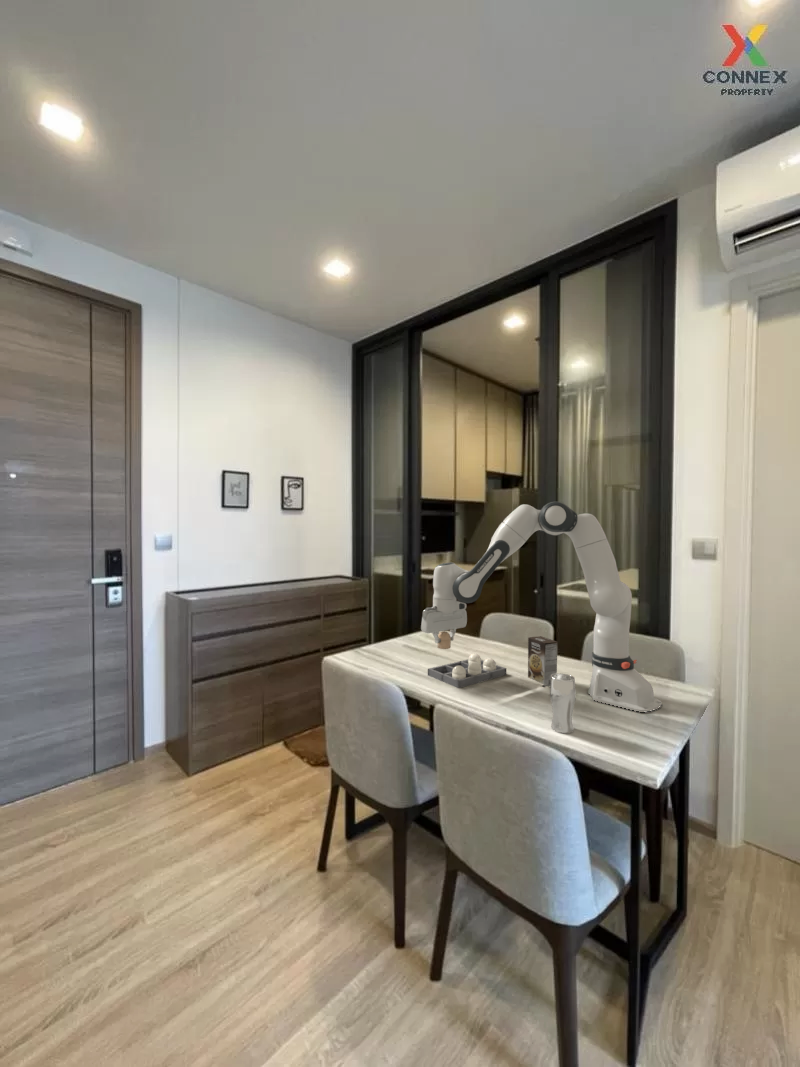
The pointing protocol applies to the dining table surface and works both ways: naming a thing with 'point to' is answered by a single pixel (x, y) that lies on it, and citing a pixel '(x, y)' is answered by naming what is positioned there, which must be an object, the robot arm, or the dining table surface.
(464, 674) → the egg front left
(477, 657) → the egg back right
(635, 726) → the dining table surface
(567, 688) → the beer glass
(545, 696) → the dining table surface
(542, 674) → the coffee box
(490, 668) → the egg front right
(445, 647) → the brown egg
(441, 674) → the egg carton
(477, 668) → the egg front middle
